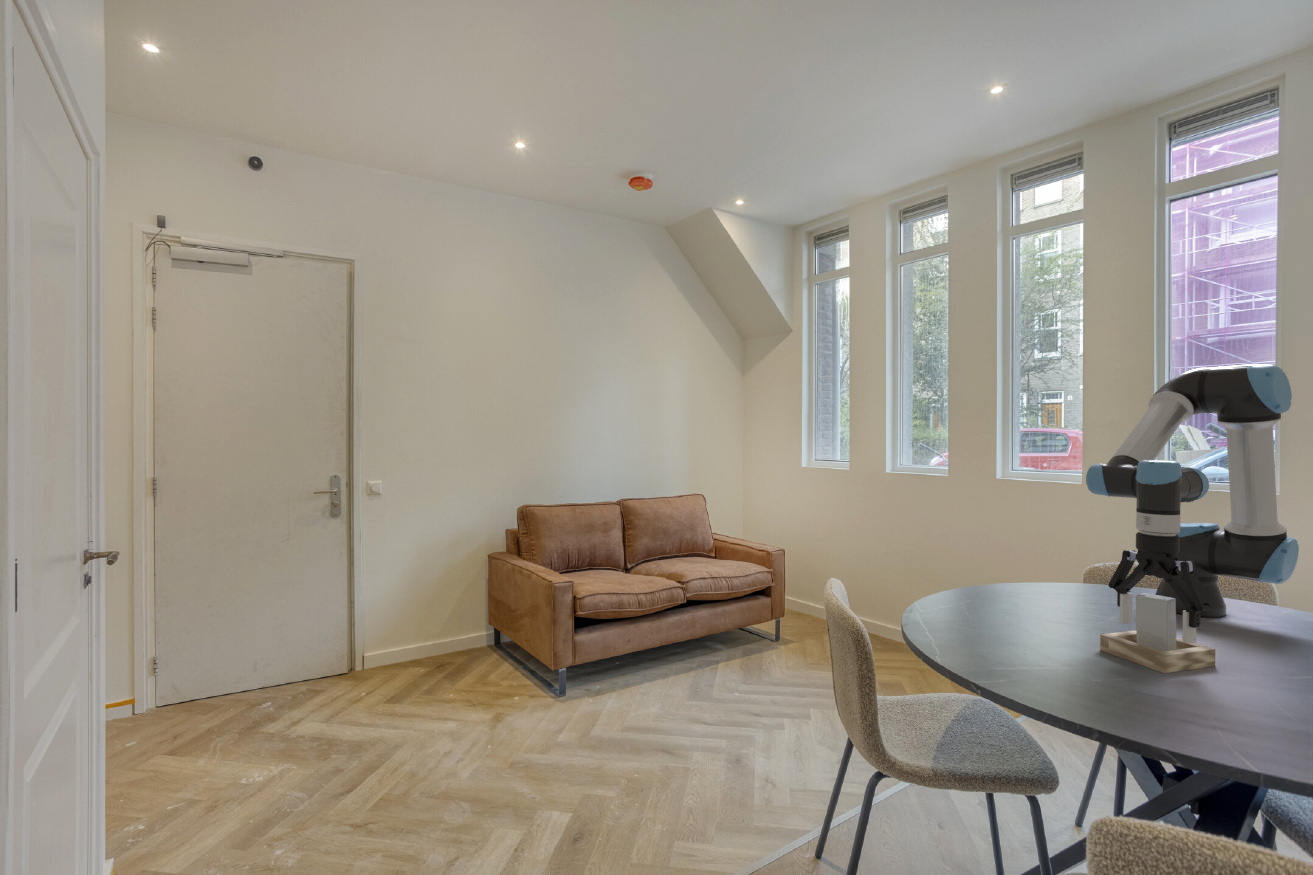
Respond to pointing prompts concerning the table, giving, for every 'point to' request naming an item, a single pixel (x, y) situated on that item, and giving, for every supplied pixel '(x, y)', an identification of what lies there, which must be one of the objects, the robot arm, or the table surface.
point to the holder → (1157, 653)
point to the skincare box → (1156, 621)
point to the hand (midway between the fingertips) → (1156, 632)
